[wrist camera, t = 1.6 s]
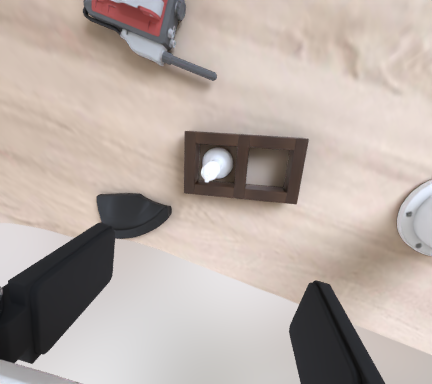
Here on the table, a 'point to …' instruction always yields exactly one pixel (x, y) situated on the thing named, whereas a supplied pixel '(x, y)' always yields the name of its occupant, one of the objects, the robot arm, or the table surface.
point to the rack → (244, 166)
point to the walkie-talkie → (145, 27)
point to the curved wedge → (131, 213)
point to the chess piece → (216, 164)
